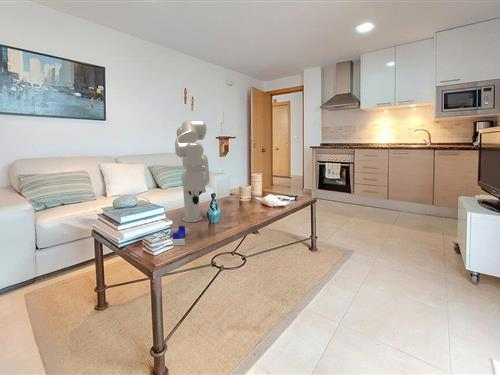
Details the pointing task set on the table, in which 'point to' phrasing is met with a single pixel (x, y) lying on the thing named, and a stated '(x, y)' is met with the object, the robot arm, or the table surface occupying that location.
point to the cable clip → (179, 233)
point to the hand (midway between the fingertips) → (195, 203)
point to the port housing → (178, 241)
